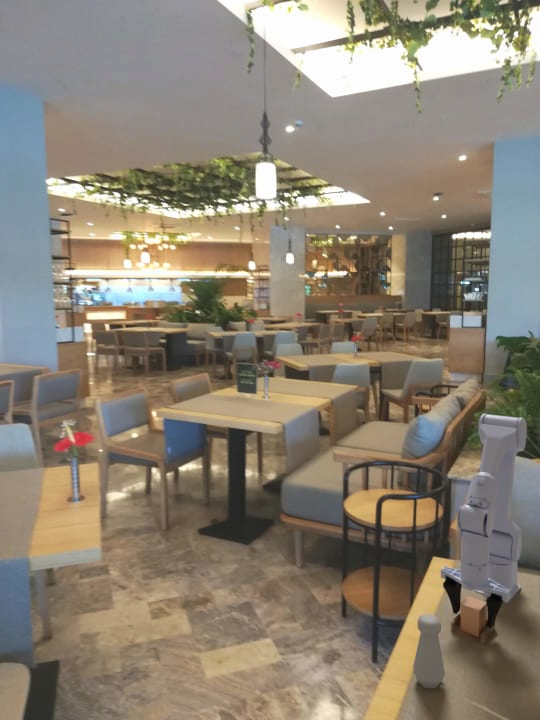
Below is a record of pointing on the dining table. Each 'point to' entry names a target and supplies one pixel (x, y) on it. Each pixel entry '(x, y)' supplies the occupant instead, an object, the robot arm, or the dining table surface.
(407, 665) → the dining table surface
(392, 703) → the dining table surface
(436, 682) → the salt shaker
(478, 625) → the block
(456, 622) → the box
